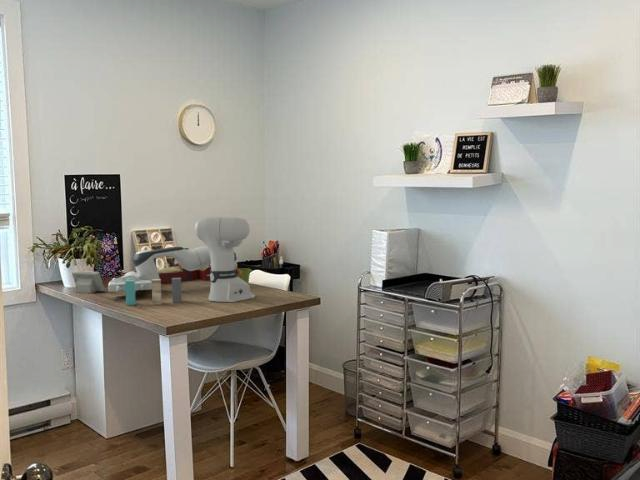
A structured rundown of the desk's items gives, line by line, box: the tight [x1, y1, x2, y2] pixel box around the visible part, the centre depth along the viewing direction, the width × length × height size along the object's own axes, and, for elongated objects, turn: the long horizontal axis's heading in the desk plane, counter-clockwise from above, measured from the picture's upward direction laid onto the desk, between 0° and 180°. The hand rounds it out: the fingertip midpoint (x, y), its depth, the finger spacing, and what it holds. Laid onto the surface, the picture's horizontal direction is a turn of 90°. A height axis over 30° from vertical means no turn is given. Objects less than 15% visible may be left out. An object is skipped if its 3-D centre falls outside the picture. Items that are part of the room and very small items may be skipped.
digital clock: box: [71, 270, 105, 294], centre depth 313 cm, size 16×9×11 cm, turn 62°
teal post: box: [125, 280, 136, 306], centre depth 282 cm, size 4×4×11 cm
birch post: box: [151, 279, 162, 306], centre depth 283 cm, size 4×4×11 cm
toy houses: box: [156, 263, 211, 285], centre depth 341 cm, size 45×20×10 cm, turn 129°
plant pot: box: [235, 267, 252, 284], centre depth 328 cm, size 9×9×9 cm
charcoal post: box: [171, 278, 183, 304], centre depth 287 cm, size 4×4×11 cm
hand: (130, 288), depth 289 cm, fingers open, 8 cm apart
